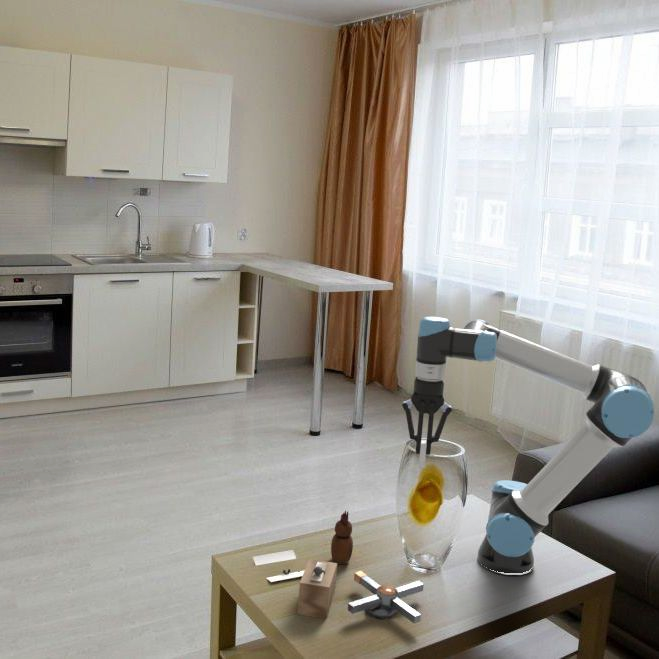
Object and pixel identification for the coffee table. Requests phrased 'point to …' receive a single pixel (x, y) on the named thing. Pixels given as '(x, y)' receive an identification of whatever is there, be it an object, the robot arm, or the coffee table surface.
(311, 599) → the stand
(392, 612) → the capstan
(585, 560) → the coffee table surface
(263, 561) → the white panels
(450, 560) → the coffee table surface
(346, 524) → the wooden figurine
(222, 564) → the coffee table surface
